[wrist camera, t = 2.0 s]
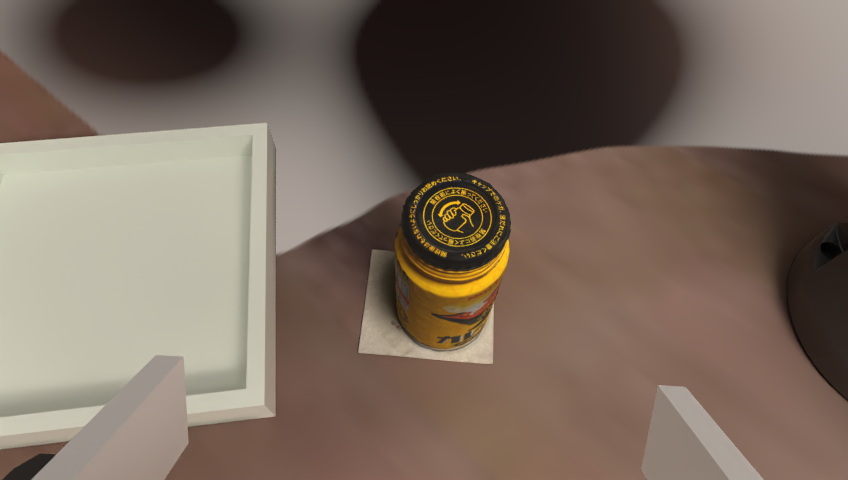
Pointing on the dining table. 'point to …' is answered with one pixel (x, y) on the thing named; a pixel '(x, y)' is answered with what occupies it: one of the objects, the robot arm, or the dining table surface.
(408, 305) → the condiment
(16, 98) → the dining table surface
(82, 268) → the tray
